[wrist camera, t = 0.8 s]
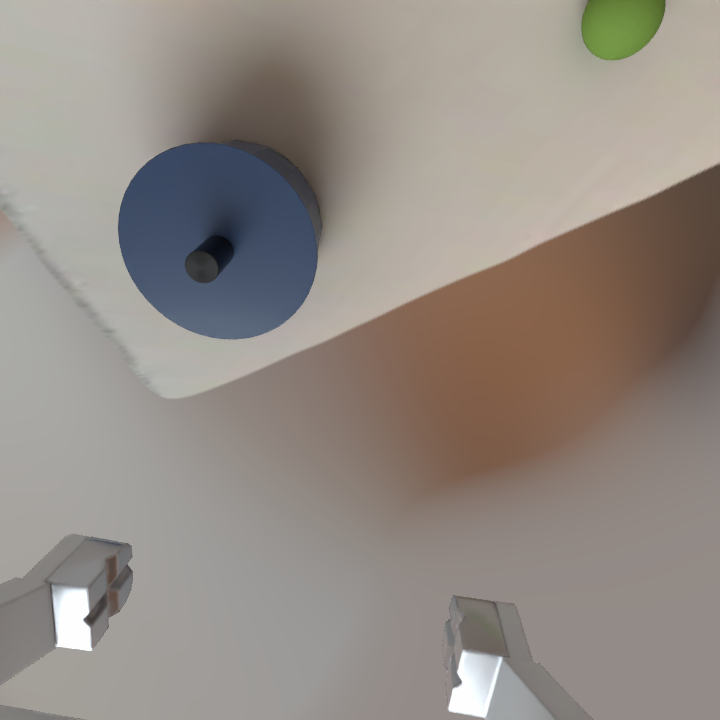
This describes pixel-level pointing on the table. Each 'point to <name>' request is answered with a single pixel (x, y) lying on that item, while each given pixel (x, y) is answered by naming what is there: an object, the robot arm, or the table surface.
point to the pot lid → (218, 240)
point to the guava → (620, 26)
